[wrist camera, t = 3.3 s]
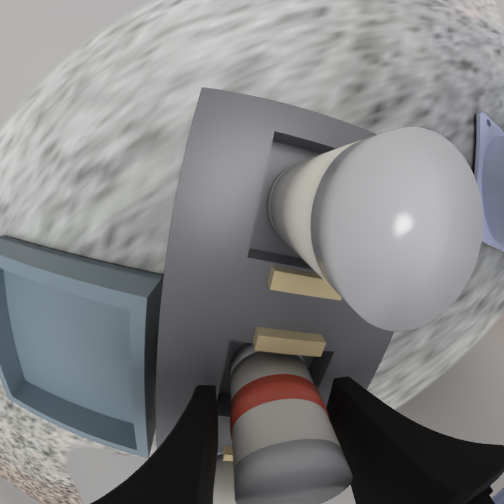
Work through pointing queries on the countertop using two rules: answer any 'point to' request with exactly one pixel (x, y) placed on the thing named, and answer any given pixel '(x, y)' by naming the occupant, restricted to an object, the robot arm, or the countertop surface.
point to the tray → (80, 343)
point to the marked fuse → (281, 433)
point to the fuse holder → (248, 262)
